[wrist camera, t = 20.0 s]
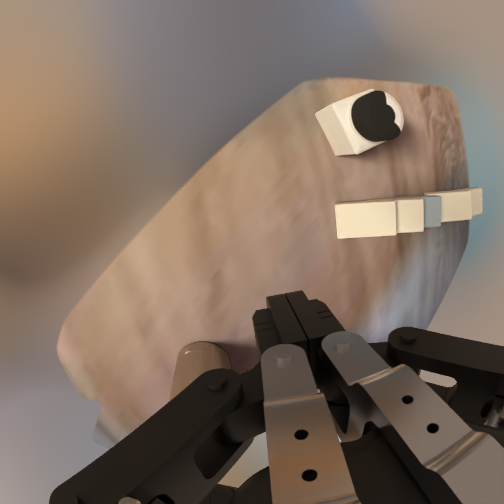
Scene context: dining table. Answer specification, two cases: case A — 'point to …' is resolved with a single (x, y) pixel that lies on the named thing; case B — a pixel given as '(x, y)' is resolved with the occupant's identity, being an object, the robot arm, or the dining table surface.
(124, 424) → the dining table surface
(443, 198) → the domino
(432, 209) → the domino
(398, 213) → the domino
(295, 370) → the robot arm
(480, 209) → the domino
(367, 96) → the medicine bottle
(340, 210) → the domino
